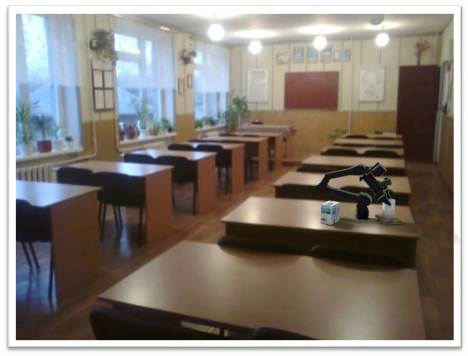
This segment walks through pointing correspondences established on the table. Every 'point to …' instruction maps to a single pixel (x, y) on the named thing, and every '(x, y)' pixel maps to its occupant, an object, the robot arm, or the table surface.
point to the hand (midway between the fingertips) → (391, 203)
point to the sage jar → (388, 210)
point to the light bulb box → (330, 212)
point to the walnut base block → (388, 220)
